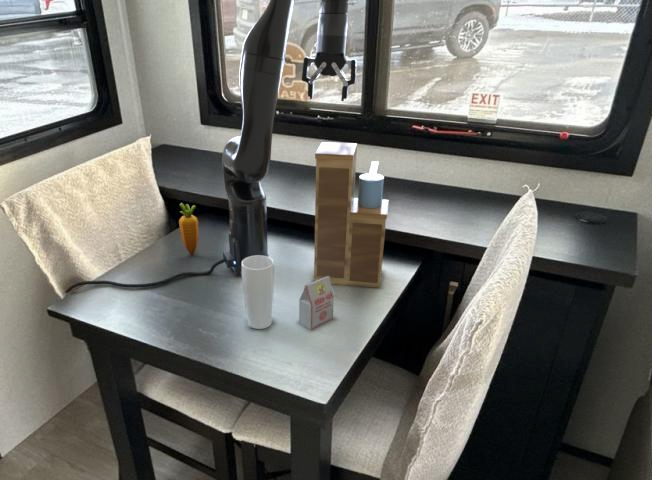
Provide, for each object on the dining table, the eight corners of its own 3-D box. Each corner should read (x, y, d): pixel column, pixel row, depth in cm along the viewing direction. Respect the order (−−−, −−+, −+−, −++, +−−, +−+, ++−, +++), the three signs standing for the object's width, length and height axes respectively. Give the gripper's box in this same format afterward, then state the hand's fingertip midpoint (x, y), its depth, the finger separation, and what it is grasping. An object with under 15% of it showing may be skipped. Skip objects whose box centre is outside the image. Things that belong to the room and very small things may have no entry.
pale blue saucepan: (381, 209, 125) (383, 181, 122) (356, 207, 126) (358, 179, 123) (384, 184, 140) (387, 158, 137) (362, 182, 141) (364, 157, 138)
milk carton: (299, 322, 120) (299, 282, 115) (321, 312, 124) (322, 272, 118) (310, 329, 117) (311, 289, 112) (333, 318, 121) (334, 278, 116)
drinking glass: (272, 333, 116) (270, 270, 109) (241, 330, 118) (237, 268, 110) (278, 316, 122) (276, 256, 115) (248, 314, 123) (245, 253, 116)
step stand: (380, 288, 132) (392, 156, 116) (312, 282, 135) (315, 153, 119) (382, 270, 140) (393, 144, 124) (318, 265, 143) (321, 141, 127)
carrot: (204, 253, 151) (200, 202, 143) (193, 261, 147) (187, 208, 140) (190, 250, 153) (185, 198, 146) (179, 256, 150) (172, 204, 142)
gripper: (302, 32, 139) (299, 100, 147) (358, 35, 137) (352, 103, 145) (306, 32, 146) (303, 96, 154) (360, 34, 144) (354, 99, 151)
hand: (327, 99), depth 149 cm, fingers open, 8 cm apart
